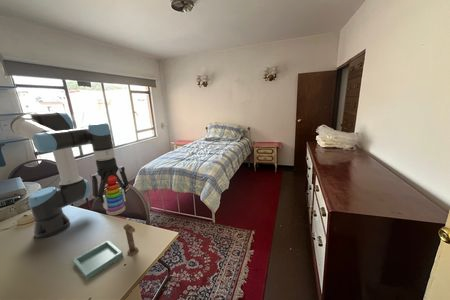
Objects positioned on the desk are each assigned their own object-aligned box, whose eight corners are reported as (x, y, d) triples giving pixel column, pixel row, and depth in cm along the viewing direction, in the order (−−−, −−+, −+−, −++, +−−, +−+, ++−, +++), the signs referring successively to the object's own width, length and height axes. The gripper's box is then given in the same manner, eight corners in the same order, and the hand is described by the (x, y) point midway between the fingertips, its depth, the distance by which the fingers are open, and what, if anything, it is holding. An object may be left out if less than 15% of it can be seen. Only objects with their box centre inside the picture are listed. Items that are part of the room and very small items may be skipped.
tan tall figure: (125, 252, 86) (120, 227, 83) (134, 246, 90) (130, 222, 87) (132, 258, 83) (127, 232, 80) (142, 252, 86) (137, 226, 83)
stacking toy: (117, 216, 85) (109, 178, 81) (102, 215, 87) (94, 177, 82) (129, 207, 93) (122, 171, 88) (115, 206, 95) (108, 171, 90)
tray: (74, 264, 81) (73, 259, 81) (108, 244, 92) (107, 240, 92) (87, 280, 73) (85, 275, 73) (123, 256, 84) (122, 251, 84)
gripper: (81, 166, 73) (94, 217, 79) (132, 153, 89) (139, 197, 95) (74, 163, 78) (87, 212, 83) (124, 151, 93) (131, 193, 99)
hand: (115, 204), depth 89 cm, fingers closed on stacking toy, 7 cm apart
